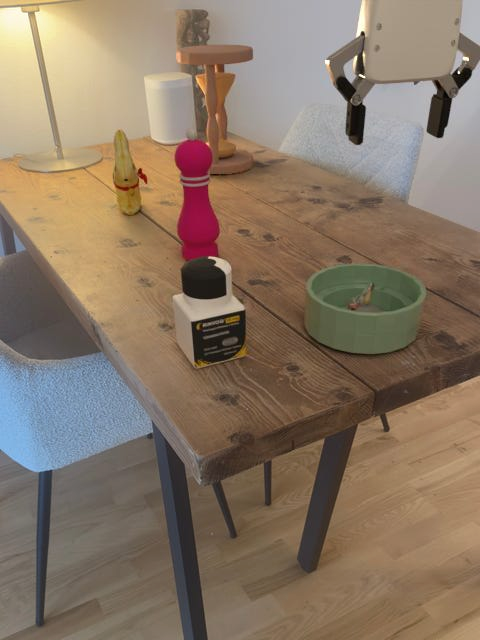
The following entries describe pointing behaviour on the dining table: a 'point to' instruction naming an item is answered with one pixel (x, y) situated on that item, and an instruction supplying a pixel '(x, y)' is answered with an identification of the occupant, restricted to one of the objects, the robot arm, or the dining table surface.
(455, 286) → the dining table surface
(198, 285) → the medicine bottle
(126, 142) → the chocolate bunny
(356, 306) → the figurine
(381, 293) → the bowl
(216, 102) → the hourglass
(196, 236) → the pepper mill
